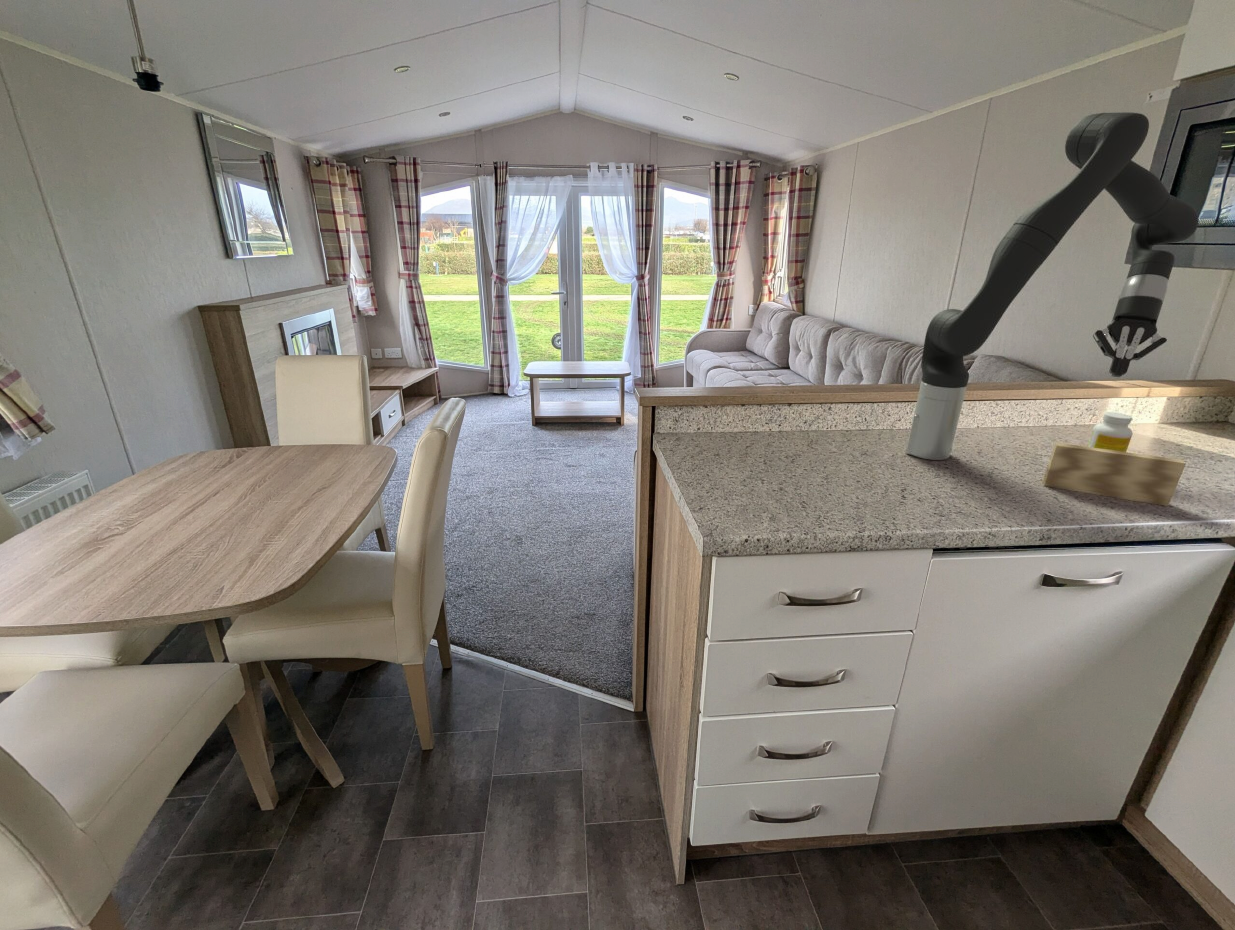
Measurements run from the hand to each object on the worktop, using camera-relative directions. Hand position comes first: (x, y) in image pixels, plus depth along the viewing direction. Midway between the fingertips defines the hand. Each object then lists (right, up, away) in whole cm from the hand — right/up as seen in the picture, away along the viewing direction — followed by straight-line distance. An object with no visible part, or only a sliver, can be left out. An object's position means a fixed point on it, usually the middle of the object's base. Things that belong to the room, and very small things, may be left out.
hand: (1116, 376), depth 127 cm
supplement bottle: (-4, -21, 0) cm, 22 cm away
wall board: (-12, -25, -9) cm, 29 cm away
